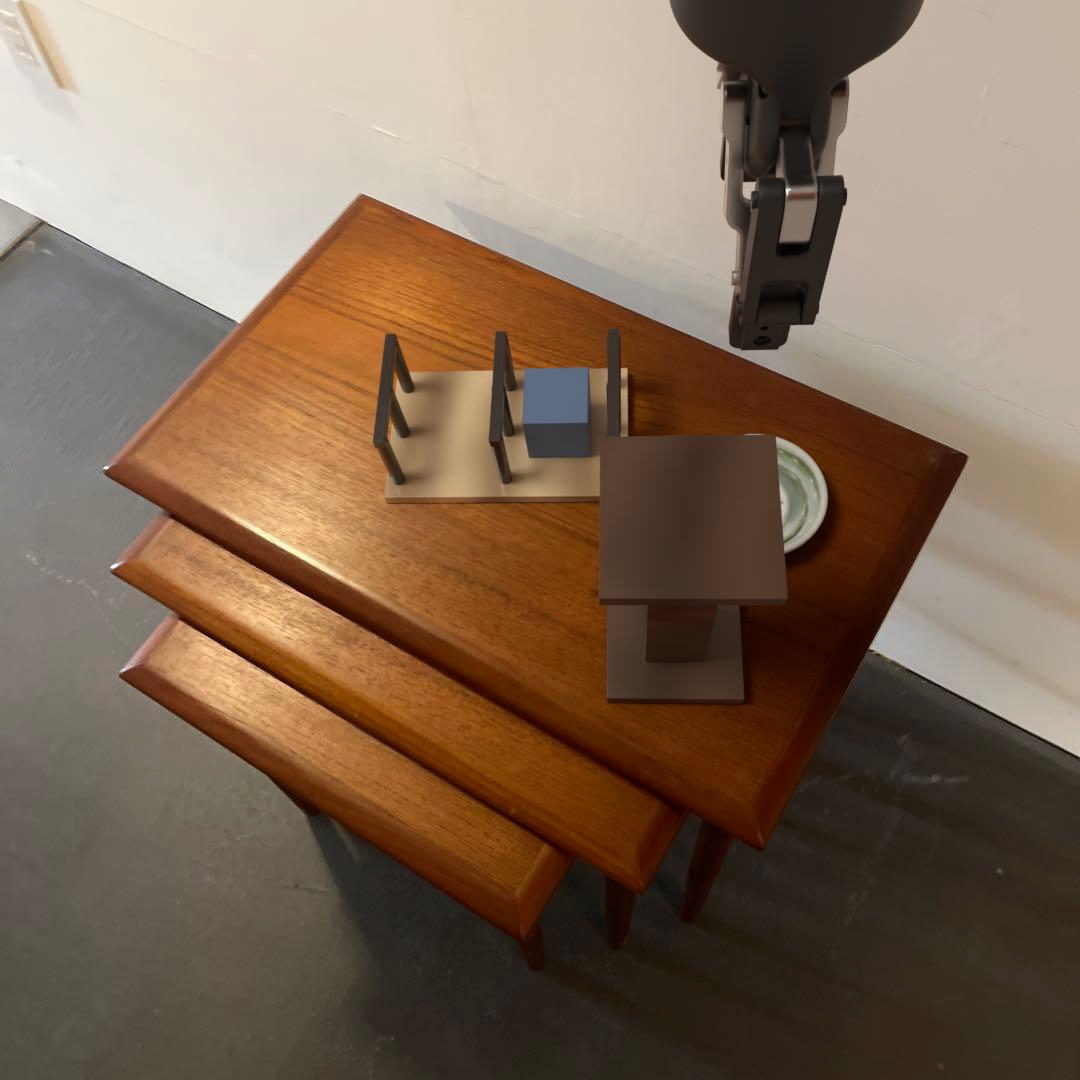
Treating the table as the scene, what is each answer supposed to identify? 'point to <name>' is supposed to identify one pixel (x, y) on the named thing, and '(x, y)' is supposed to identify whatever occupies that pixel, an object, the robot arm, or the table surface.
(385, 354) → the rack
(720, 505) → the stand
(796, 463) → the saucer
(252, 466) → the table surface
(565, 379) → the block
